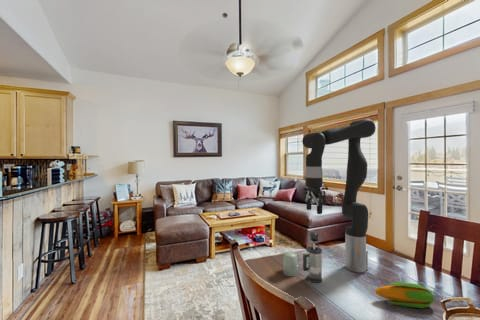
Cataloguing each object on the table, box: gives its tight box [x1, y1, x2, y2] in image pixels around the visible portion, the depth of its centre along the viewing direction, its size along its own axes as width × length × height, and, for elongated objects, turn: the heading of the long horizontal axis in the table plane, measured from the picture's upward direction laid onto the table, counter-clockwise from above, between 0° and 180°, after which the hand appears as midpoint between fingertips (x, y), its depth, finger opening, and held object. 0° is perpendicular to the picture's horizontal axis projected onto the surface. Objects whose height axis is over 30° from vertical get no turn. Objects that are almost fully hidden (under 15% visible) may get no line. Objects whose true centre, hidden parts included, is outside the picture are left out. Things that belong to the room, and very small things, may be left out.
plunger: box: [309, 231, 319, 250], centre depth 101 cm, size 4×4×14 cm
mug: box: [283, 251, 298, 277], centre depth 108 cm, size 6×8×9 cm
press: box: [302, 245, 323, 285], centre depth 101 cm, size 9×7×14 cm
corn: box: [374, 281, 435, 309], centre depth 84 cm, size 7×8×20 cm
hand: (313, 211), depth 101 cm, fingers open, 8 cm apart
